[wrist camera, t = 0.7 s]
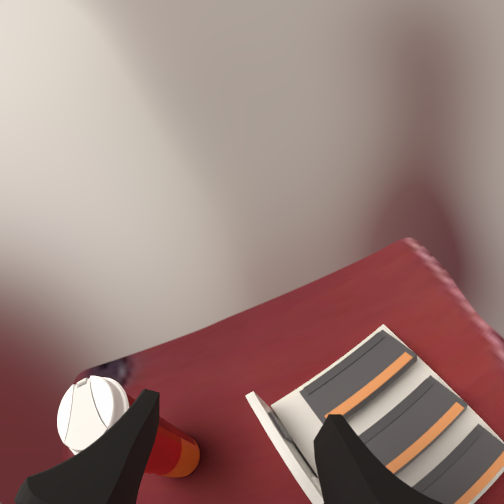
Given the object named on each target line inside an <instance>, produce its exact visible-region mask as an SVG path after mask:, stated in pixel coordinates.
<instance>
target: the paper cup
mask: <svg viewBox="0 0 504 504" xmlns="http://www.w3.org/2000/svg"><path fill="white" fill-rule="evenodd" d="M134 401H135V399H133V398H132V397H130V396H129V395H128V394H126V393H125V391H124V389H123V388H122V386H121V385H120V384H119V383H118V382H116V381H115V380H113V379H110V378H104V377H103V378H101V377H98V376H90V378H89V379H87V378H85V379H83V380H81V381H79V382H77V385H75V384H74V385H72V386H71V387H70V388H69V390H68V391H67V392H66V394H65V395H64V398H63V400H62V401H61V404H60V407H59V411H58V418H57V419H58V420H57V424H58V431H59V435H60V437H61V439H62V441H63V442H64V444H65V445H67V446H68V447H69V448H70V450H71V451H72V452H73V453H74V454H75V455H76V454H78V453H79V452H81V451H82V450H84V449H85V448H87V447H88V446H89V445H91V444H92V443H93V442H95V441H96V440H97V439H98V438H100V437H101V436H102V435H103V434H104V433H105V432H106V431H107V430H108V429H109V428H111V427H112V426H113V425H114V424H115V423H116V422H117V421H118V420H119V419H120V417H121V416H122V415H123V414H124V413H125V412H126V411H127V410H128V409H129V408H130V406H131V405H132V404H133V403H134ZM199 459H200V450H199V447H198V445H197V443H196V441H195V440H194V439H193V438H192V437H190V436H189V435H188V434H186V433H184V432H183V431H181V430H180V429H178V428H176V427H175V426H173V425H172V424H170V423H169V422H167V421H165V420H164V419H162V418H161V417H159V425H158V430H157V434H156V439H155V443H154V445H153V448H152V451H151V454H150V457H149V460H148V462H147V465H146V468H145V471H144V473H149V474H154V475H160V476H167V477H184V476H187V475H189V474H190V473H192V472H193V471H194V470H195V469H196V467H197V465H198V463H199Z"/></svg>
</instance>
